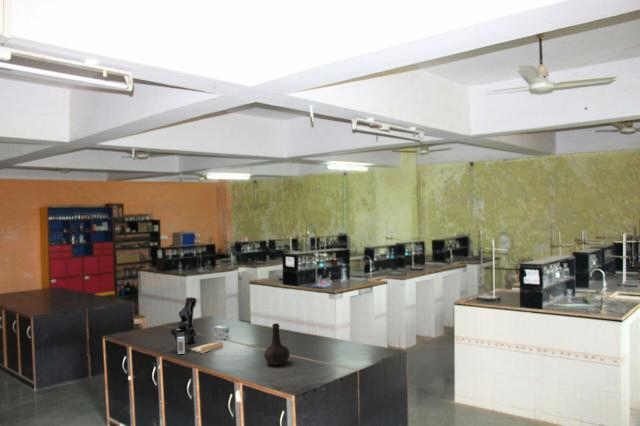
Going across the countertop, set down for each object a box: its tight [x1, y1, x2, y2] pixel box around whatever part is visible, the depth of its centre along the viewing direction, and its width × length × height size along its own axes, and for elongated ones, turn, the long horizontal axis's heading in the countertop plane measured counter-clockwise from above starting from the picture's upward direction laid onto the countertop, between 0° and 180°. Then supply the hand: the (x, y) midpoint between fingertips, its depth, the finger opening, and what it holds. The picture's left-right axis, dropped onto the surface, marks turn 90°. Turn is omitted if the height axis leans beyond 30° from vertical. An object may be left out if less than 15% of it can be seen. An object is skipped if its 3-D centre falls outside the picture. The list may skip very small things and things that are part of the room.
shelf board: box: [189, 342, 224, 354], centre depth 405 cm, size 16×20×2 cm
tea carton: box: [176, 336, 186, 355], centre depth 395 cm, size 4×4×13 cm
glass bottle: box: [263, 323, 290, 366], centre depth 359 cm, size 18×18×28 cm
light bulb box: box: [214, 325, 230, 340], centre depth 439 cm, size 11×7×11 cm, turn 65°
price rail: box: [201, 341, 224, 352], centre depth 400 cm, size 1×20×3 cm, turn 138°
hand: (181, 340), depth 398 cm, fingers open, 9 cm apart
